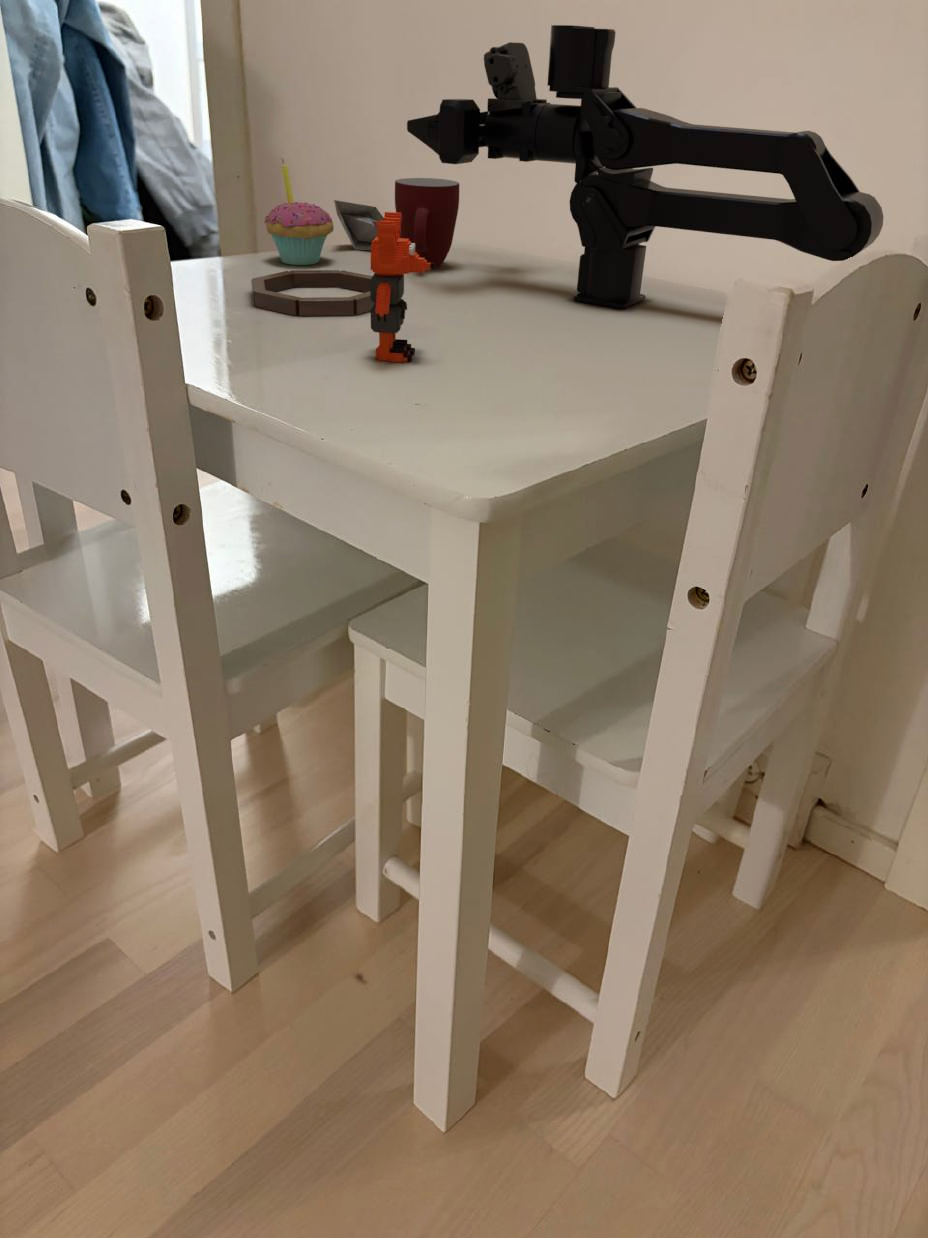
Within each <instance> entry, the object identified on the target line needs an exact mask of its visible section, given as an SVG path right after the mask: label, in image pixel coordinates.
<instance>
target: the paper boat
mask: <svg viewBox="0 0 928 1238" xmlns="http://www.w3.org/2000/svg"><path fill="white" fill-rule="evenodd" d="M333 202H334V206H335V211H336V215H337V217H338V219H339V221H340V224H341V226H342V227H343V229H344V231H345V233H346V235H347V237H348V239H349V241H350V244H351V245H352V247H353V249H354V250H356V251H357V250H358V251H371V244H372V241H373V240H374V239H375V238H376V237H377V226H376V224H377V221H383V220H384V215H383V214H382V213H381V212H380V210H379V209H378V208H377V206H374V205H373V206H372V205H367V204H362V203H361V204H359V203H354V202H348V201H342V200H336V199H334V200H333Z"/></svg>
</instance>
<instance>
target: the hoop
mask: <svg viewBox="0 0 928 1238" xmlns="http://www.w3.org/2000/svg"><path fill="white" fill-rule="evenodd" d="M372 276H373V275H368V274H363V273H358V272H352V271H347V270H339V269H318V270H317V269H316V270H315V269H314V270H313V269H312V270H311V269H309V270H308V269H307V270H306V269H304V270H302V269H295V270H294V269H293V270H285V271H280V272H276V273H271V274H266V275H262V276H258V277H254V278H251V280H250V282H251V283H250V284H251V295H252V304H253V307H255V308H259V309H262V310H267V311H272V312H277V313H282V314H285V315H286V314H287V315H291V316H295V317H297V316H299V317H332V316H334V317H336V316H341V317H342V316H354V315H356V316H358V315H362V314H366V313H368V312H369V313H370V312H371V308H372V306H373V305H374V303H373V301H372V300H371V299H370V281H371V278H372ZM292 288H342V289H347V290H352V291H357V292H361V293H358V294H355V295H351V296H344V297H343V296H341V297H339V296H334V297H333V296H329V297H327V296H326V297H325V296H323V297H320V296H319V297H318V296H317V297H313V296H311V297H300V296H295V295H290V294H286V293H282V292H279V291H284V290H288V289H292Z"/></svg>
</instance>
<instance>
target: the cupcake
mask: <svg viewBox="0 0 928 1238" xmlns="http://www.w3.org/2000/svg"><path fill="white" fill-rule="evenodd" d="M281 162H282V165H281V171H282V176H283V181H284V187H285V192H286V198H287V202H283V203H281V204H279V205H276V206H275V207H274V208H272V210H270V211H269V212H268V214H267V215H266V216H265V217H264V224H265V229H266V231H267V234H269V235H270V236H271V237H272V239H273V242H274V245H275V247H276V249H277V251H278V254H279V257H280V260H281V263H284V264H285V265H286V264H287V265H291V266H310V265H311V266H312V265H316V264H318V263H319V262H320V258H321V255H322V250H323V248H324V244H325V241H326V239H327V237H328V235H330V234H331V233H333V232H334V229H335V227H334V222H333V218H332V216H331V215H330V214H329V212H328V211H327V210H324V209H323V208H322V207H321V206H319V205H318V206H317V205H316V204H314V203H313V204H311V203H308V202H301V201H299V202H297V201H294V197H293V191H292V186H291V181H290V175H289V169H288V164H285V161H284V158H283V157H281Z"/></svg>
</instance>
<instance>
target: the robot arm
mask: <svg viewBox="0 0 928 1238" xmlns="http://www.w3.org/2000/svg"><path fill="white" fill-rule="evenodd" d="M615 39H616V30H615V29H612V28H595V26H586V25H585V26H584V25H569V24H567V25H565V24H563V25H562V24H551V25H550V40H549V53H548V55H549V57H548V72H547V86H548V87H549V88H548V89H549V90H548V91H549V92H552V93H553V92H554V93H555V98H557V99H571V100H572V99H574V100H580V105H574V104H559V103H558V104H557V103H551V102H548V100H547V98H546V99H543V98H537V92H536V81H535V75H534V71H533V67H532V63H531V58H530V54H529V50H528V47H527V45H526V44H525V43H524V42H510V41H509V42H507V43H504V44H503V45H500V46H492V47H491V48H489V51H487V52H485V53H484V54H483V65H484V69H485V74H486V78H487V83H488V85H489V86H490V87H491V89H492V93H493V96H494V97H495V98H494V97H493V98H489V97H488V98H487V106H486V107H487V109H486V111H481V109H480V107H479V105H478V104H477V103H476V102H475V100H474V99H469V98H444V99H442V100H441V102H440V105H439V111H438V112H437V114H433V115H428V116H423V117H418V118H413V119H409V120H407V121H406V131H407V132H408V133H409V134H411V135H412V136H413V137H415V138H416V139H417V140H418V141H420V142H422V144H424V145H425V146H427V147H428V148H430V149H431V150H432V151H433V152H434V153H435V154H437V155H438V158H439V160H440V162H441V164H448V165H461V164H468V163H472V162H473V161H474V160H475V159H476V158H477V157H478V155H479V154H480V148H487V159H493V160H497V159H505V158H506V159H517V160H518V161H519V162H525V163H528V162H534V161H539V162H552V163H562V164H563V163H564V164H574V166H575V168H574V179H573V180H574V183H575V185H574V187H573V189H572V191H571V192H570V196H569V211H570V215H571V216H572V219H573V221H574V222H575V223H576V226H577V229H578V233H579V239H580V243H581V246H582V247H583V248H584V251H583V253H582V254H581V255H580V256H579V262H578V263H579V264H578V272H577V273H578V274H577V284H576V291H577V293H576V294H573V297H572V299H573V300H574V301H579V302H583V303H590V304H595V305H602V306H606V307H611V308H616V309H617V308H618V309H626V308H629V307H630V306H632V305H635V304H637V303H640V302H642V301H644V300H646V296H647V295H646V294H643V293H641V291H642V283H643V275H644V267H645V259H646V252H647V245H643V244H642V243H648V242H649V241H650V239H651V237H652V236H653V233H654V231H655V229H656V227H659V228H667V229H676V230H684V231H693V232H702V233H712V234H719V235H729V236H735V237H747V238H755V239H764V240H770V241H771V240H773V241H777V242H779V243H782V244H784V245H786V246H788V247H791V248H793V249H795V250H796V251H799V252H802V253H804V254H808V255H811V256H814V257H817V258H820V259H824V260H827V261H831V262H844V261H847V260H849V259H848V258H850V257H852V258H853V257H855V256H857V255H858V254H859V253H861V252H862V251H864V250H866V248H868V247H869V246H871V245H873V243H875V241H876V240H877V238H878V237H879V236H880V234H881V232H882V229H883V226H884V217H885V216H884V212H883V209H882V206H881V205H880V203H879V202H878V200H877V199H876V197H875V196H873V195H872V194H869V193H866V192H862V191H860V190H859V188H858V187H857V185H856V183H855V182H854V180H853V179H852V178H851V176H850V175H849V174H848V173H847V171H846V170H845V169H844V167H842V165H841V164H840V163H839V162H838V161H837V160H836V158H835V157H834V156H833V155H832V154H831V153H830V152H831V151H829V149H828V147H827V146H826V145H825V144H826V143H825V142H824V139H823V138H822V136H820V134H818V133H817V132H815V131H812V130H803V131H797V132H793V131H781V130H769V129H767V130H766V129H755V128H745V127H731V126H719V125H718V126H717V125H707V124H693V123H690V122H687V121H683V120H680V119H678V118H675V117H673V116H671V115H668V114H664V113H662V112H657V111H654V110H651V109H648V108H644V107H636V105H635V104H634V103H633V102H632V101H631V100H630V99H629V98H628V97H627V95H626V94H624V92H623V91H622V90H621V89H620V88H619V87H616V86H615V87H614V86H612V87H611V86H610V78H611V77H610V75H611V66H612V55H613V50H614V47H615V41H616V40H615ZM666 165H686V166H695V167H696V166H697V167H706V168H707V167H708V168H717V169H728V170H738V171H748V172H756V173H757V172H758V173H767V174H776V175H782V176H783V178H784V179H785V181H786V182H787V184H788V186H789V189H790V191H791V193H792V195H793V197H794V198H780V197H769V196H760V195H750V194H749V195H748V194H738V193H728V192H718V191H717V192H716V191H708V190H706V191H705V190H695V189H688V188H687V189H685V188H675V187H666V186H663V185H661V184H659V183H656V182H654V181H652V176H653V173H654V167H657V166H666ZM846 259H847V260H846ZM850 259H851V258H850Z"/></svg>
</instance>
